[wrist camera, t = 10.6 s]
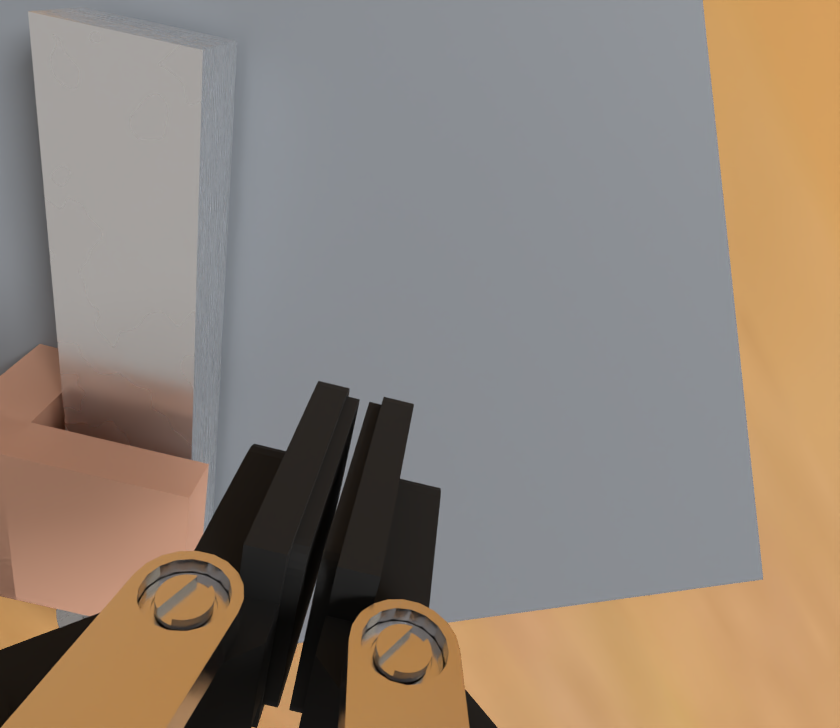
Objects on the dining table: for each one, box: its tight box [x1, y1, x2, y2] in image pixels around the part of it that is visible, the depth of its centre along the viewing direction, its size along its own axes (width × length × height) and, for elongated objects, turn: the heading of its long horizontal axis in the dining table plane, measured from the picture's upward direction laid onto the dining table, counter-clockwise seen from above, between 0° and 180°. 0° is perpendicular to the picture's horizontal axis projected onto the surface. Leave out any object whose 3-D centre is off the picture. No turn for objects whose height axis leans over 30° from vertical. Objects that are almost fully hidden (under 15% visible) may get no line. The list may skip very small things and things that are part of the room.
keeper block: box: [0, 344, 209, 616], centre depth 23 cm, size 6×7×7 cm
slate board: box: [0, 0, 763, 643], centre depth 24 cm, size 26×28×2 cm
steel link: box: [28, 7, 237, 628], centre depth 21 cm, size 24×6×5 cm, turn 169°
